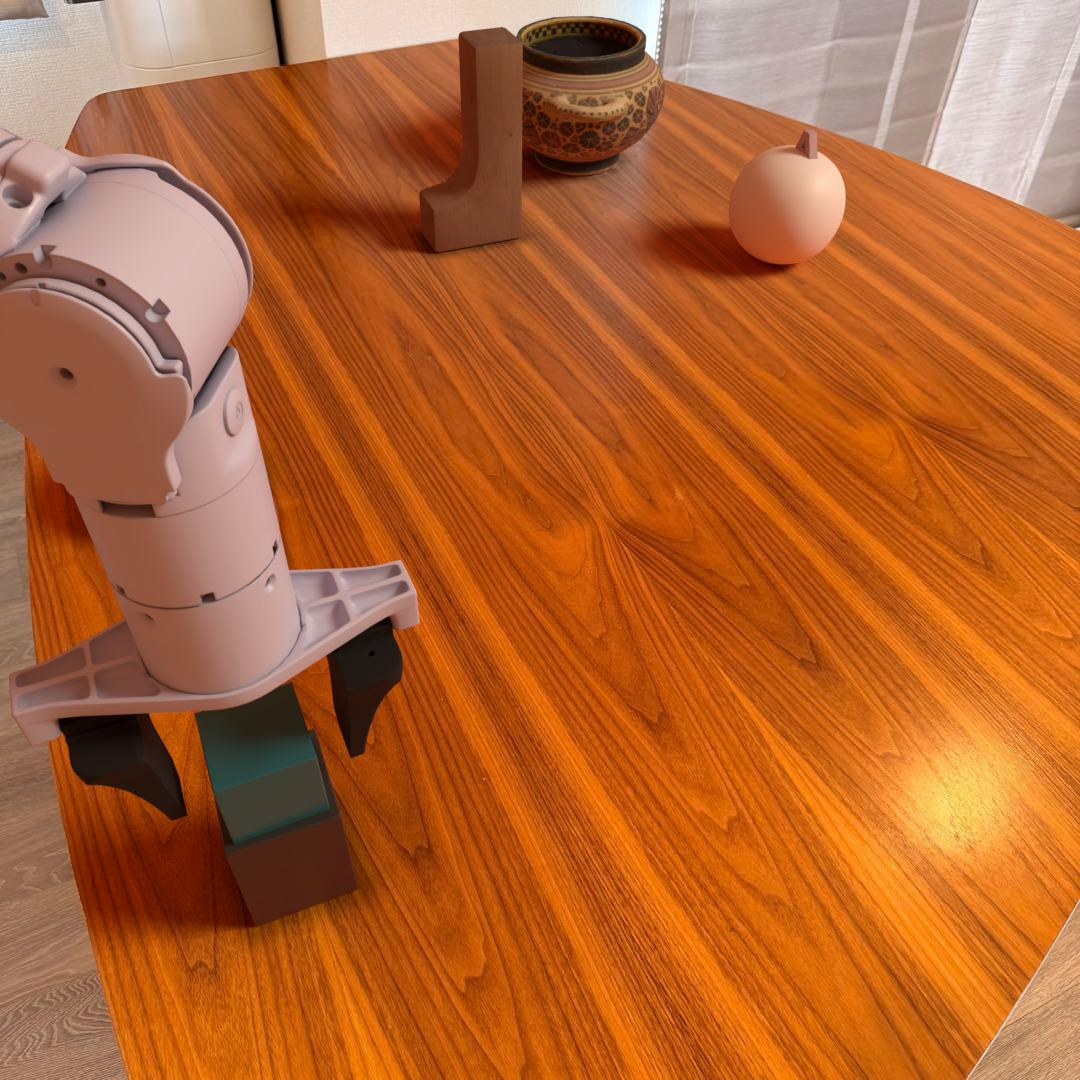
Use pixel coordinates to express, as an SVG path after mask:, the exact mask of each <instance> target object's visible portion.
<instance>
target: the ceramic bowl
mask: <svg viewBox="0 0 1080 1080" xmlns="http://www.w3.org/2000/svg"><path fill="white" fill-rule="evenodd" d="M515 36H516V37H517V38H518V39H519V40H520V41H522V44H523V84H522V144H525V145H526V146H527V147H529V148H530V149H532V150H534V158H535V160H536V161H537V163H539V165H540V166H541V167H543V168H545V169H547V170H549V171H552V172H555V173H559V174H562V175H567V176H591V175H592V176H593V175H597V174H602V173H603V172H606V171H608V170H610V169H613V168H614V167H615V166H616V165H617V164H618V162H619V161H620V158H621V153H622V152H624V151H626V150H628V149H629V148H631V147H633V146H634V145H635V144H637V143H638V142H639V141H640V140H641V139H643V138H644V136H645V135H646V134H647V133H648V132H649V131H650V130H651V128H652V127H653V125H654V124H655V123H656V121H657V119H658V117H659V115H660V113H661V110H662V108H663V103H664V99H665V88H666V87H665V79H664V75H663V73H662V71H661V70H662V69H661V68H660V66H659V64H658V62H657V61H656V60H655V58H653V57H652V56H651V55H650V54H649V53H648V52H647V51H646V46H647V35H646V33H645V32H644V30H642V29H641V28H639V27H638V26H637V25H635V24H632V23H629V22H627V21H625V20H621V19H616V18H612V17H603V16H595V15H594V16H593V15H583V16H581V15H577V16H576V15H570V16H569V15H568V16H552V17H549V18H544V19H539V20H536V21H533V22H530V23H528V24H526V25H524V26H522V27H521V28H520V29H519V30H518V32H517V33H516V35H515Z"/></svg>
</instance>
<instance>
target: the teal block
mask: <svg viewBox="0 0 1080 1080" xmlns="http://www.w3.org/2000/svg"><path fill="white" fill-rule="evenodd" d="M194 718H195V722H196V723H195V724H196V727H197V731H198V736H199V739H200V744H201V749H202V753H203V757H204V761H205V766H206V771H207V774H208V778H209V783H210V788H211V793H212V795H214V796H213V798H214V797H215V800H216V802H217V804H218V807H219V809H220V812H221V814H222V817H223V819H224V822H225V824H226V826H227V829H228V831H229V834H230V836H231V839H232V841H233V843H234V844H238V843H241V842H243V841H246V840H249V839H252V838H254V837H257V836H260V835H263V834H265V833H268V832H271V831H273V830H276V829H279V828H282V827H284V826H287V825H290V824H293V823H295V822H298V821H301V820H304V819H306V818H309V817H312V816H315V815H317V814H320V813H323V812H325V811H328V810H330V807H329V803H328V799H327V795H326V791H325V787H324V783H323V779H322V775H321V772H320V768H319V764H318V760H317V756H316V753H315V750H314V747H313V744H312V741H311V738H310V735H309V732H308V730H309V729H308V726H307V722H306V720H305V716H304V714H303V711H302V707H301V705H300V701H299V698H298V695H297V692H296V689H295V686H294V683H292V682H288V683H283V684H281V685H280V686H278V687H277V688H275V689H274V690H272V691H271V692H269V693H267V694H265V695H264V696H262V697H260V698H258V699H256V700H253V701H251V702H249V703H246V704H243V705H240V706H237V707H232V708H227V709H220V710H209V711H196V712H195V713H194Z"/></svg>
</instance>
